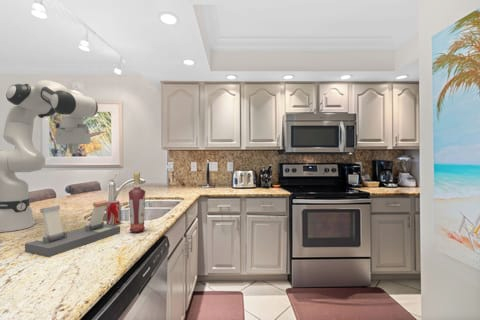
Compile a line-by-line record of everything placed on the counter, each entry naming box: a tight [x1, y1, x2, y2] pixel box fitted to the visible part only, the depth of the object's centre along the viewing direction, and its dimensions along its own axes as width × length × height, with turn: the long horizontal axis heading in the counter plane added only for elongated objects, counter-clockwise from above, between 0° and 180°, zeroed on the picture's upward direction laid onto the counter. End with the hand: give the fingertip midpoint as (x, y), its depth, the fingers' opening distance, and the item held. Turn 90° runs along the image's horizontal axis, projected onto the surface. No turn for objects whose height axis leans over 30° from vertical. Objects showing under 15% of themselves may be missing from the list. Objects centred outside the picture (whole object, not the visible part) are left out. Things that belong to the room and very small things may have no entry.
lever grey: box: [39, 205, 64, 241], centre depth 99 cm, size 2×6×13 cm, turn 158°
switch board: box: [24, 221, 121, 258], centre depth 106 cm, size 14×31×5 cm, turn 158°
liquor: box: [128, 171, 146, 234], centre depth 120 cm, size 7×7×28 cm
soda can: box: [105, 200, 122, 226], centre depth 134 cm, size 7×7×12 cm
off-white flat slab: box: [88, 199, 109, 230], centre depth 113 cm, size 2×6×13 cm, turn 158°
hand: (73, 153), depth 122 cm, fingers closed
